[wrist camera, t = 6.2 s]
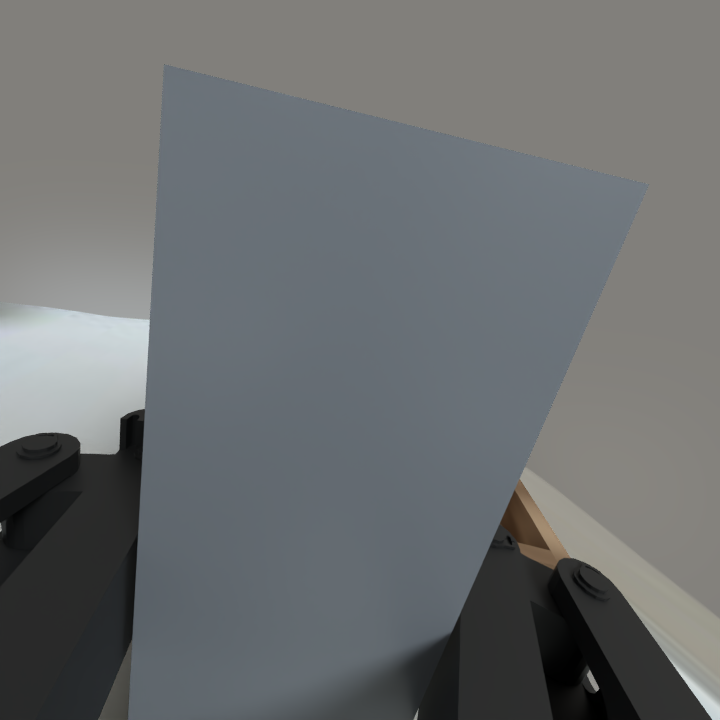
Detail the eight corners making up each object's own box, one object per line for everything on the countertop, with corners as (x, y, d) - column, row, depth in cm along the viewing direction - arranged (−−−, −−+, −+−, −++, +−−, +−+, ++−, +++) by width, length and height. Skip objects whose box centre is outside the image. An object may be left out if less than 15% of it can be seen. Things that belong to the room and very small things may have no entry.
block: (317, 937, 8) (648, 185, 3) (118, 887, 8) (163, 64, 3) (349, 609, 16) (463, 241, 11) (247, 584, 16) (317, 205, 11)
